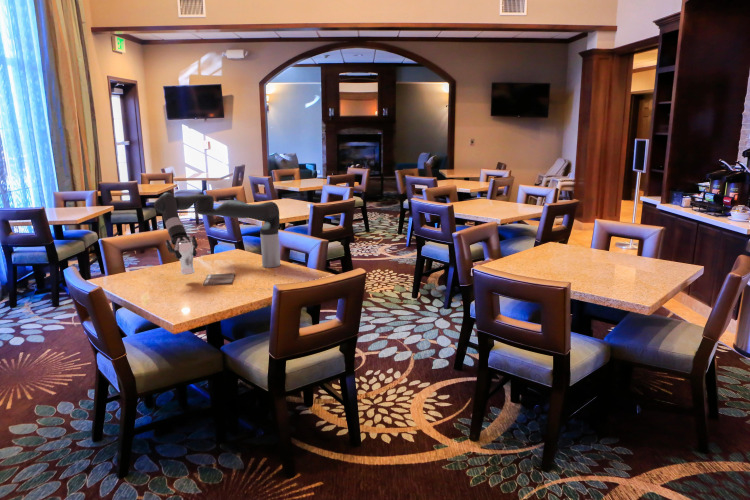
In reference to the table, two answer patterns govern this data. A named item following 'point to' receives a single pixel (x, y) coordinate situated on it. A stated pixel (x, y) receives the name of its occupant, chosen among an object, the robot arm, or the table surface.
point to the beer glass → (186, 256)
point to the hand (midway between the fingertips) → (187, 256)
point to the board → (219, 279)
